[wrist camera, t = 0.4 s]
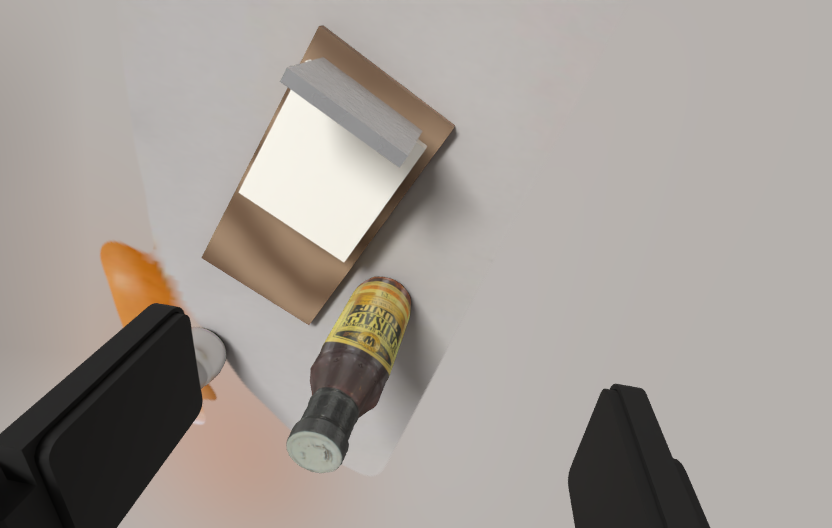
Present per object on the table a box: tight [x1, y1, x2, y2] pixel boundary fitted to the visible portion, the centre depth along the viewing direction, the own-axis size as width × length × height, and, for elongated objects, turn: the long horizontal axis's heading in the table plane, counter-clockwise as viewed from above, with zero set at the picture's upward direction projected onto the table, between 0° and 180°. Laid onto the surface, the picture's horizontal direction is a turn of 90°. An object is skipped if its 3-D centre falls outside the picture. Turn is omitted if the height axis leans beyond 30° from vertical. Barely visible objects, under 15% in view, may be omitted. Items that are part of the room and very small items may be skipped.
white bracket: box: [238, 57, 427, 262], centre depth 37 cm, size 14×11×10 cm
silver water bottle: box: [191, 327, 226, 389], centre depth 46 cm, size 6×7×20 cm
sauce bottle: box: [287, 277, 411, 473], centre depth 40 cm, size 7×6×20 cm
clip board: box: [202, 26, 455, 325], centre depth 44 cm, size 26×13×1 cm, turn 145°
